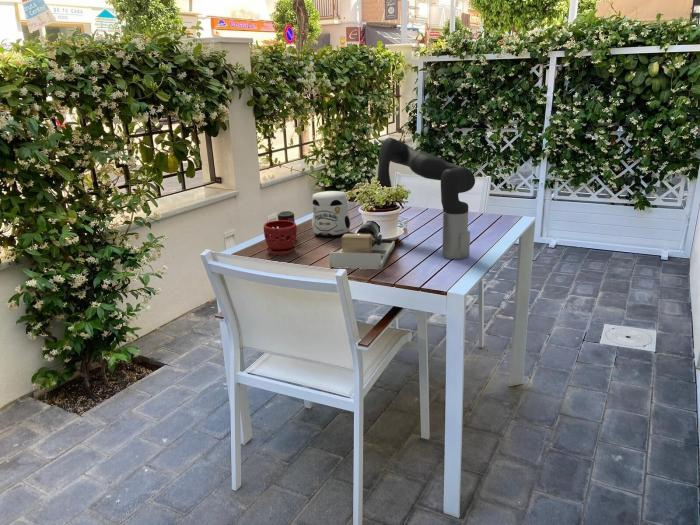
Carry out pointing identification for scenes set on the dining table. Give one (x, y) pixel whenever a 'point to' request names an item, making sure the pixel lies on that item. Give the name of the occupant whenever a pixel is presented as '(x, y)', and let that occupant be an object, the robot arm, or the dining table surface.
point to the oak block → (357, 243)
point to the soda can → (286, 216)
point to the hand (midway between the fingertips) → (358, 245)
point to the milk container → (330, 214)
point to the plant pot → (280, 237)
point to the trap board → (362, 257)
